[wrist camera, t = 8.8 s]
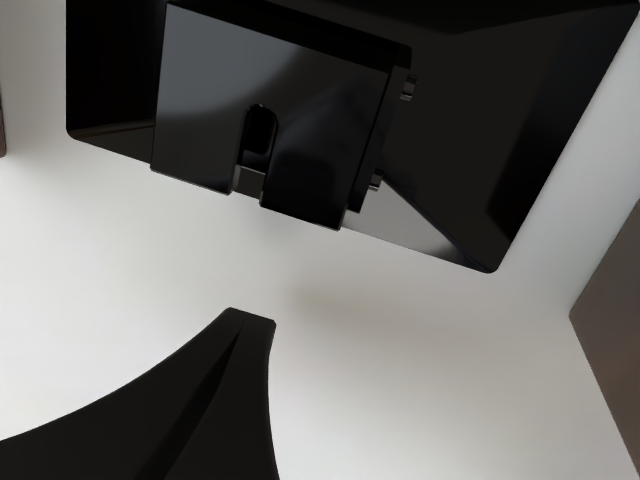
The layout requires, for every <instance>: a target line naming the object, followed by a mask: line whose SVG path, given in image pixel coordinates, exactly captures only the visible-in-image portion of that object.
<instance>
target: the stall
mask: <svg viewBox="0 0 640 480" xmlns="http://www.w3.org/2000/svg"><path fill="white" fill-rule="evenodd" d="M5 155H6V150H5V141H4V132H3V123H2V114H1V105H0V158H2V157H4V156H5ZM569 319H570V321H571V324H572V326H573V328H574V331H575V333H576V335H577V337H578V340H579V342H580V344H581V346H582V349H583V351H584V353H585V355H586V358H587V360H588V362H589V364H590V367H591V369H592V371H593V374H594V376H595V378H596V380H597V383H598V385H599V387H600V389H601V392H602V394H603V396H604V398H605V401H606V403H607V405H608V407H609V410H610V412H611V414H612V417H613V419H614V421H615V423H616V426H617V428H618V430H619V432H620V435H621V437H622V439H623V441H624V444H625V446H626V448H627V450H628V453H629V455H630V457H631V460H632V462H633V464H634V466H635V469H636V471H637V473H638V475H639V478H640V200H639V202H638V203H637V205H636V206H635V208H634V210H633V211H632V213H631V215H630V216H629V218H628V219H627V221H626V223H625V224H624V226H623V228H622V229H621V231H620V233H619V234H618V236H617V237H616V239H615V241H614V242H613V244H612V246H611V247H610V249H609V250H608V252H607V254H606V255H605V257H604V259H603V260H602V262H601V263H600V265H599V267H598V268H597V270H596V272H595V273H594V275H593V277H592V278H591V280H590V281H589V283H588V285H587V286H586V288H585V290H584V291H583V293H582V294H581V296H580V298H579V299H578V301H577V303H576V304H575V306H574V308H573V309H572V311H571V312H570V314H569Z"/></svg>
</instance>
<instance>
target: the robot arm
mask: <svg viewBox="0 0 640 480" xmlns="http://www.w3.org/2000/svg"><path fill="white" fill-rule="evenodd" d="M275 329H276V323H275V322H274V320H272V319H268V318H265V317H262V316H258V315H255V314H252V313H248V312H245V311H242V310H238V309H235V308H231V307H229V308H227V309H225V310H224V311H223V312H222V313H221V314H220V315H219V316H218V317H217V318H216V319H215V320H213V321H212V322H211V323H210V324H209V325H208V326H207V327H206V328H204V329H203V330H202V331H201V332H200V333H198V334H197V335H196V336H195V337H194V338H192V339H191V340H190V341H188V342H187V343H186V344H185V345H183V346H182V347H181V348H180V349H178V350H177V351H176V352H174V353H173V354H172V355H170V356H169V357H167V358H166V359H164V360H163V361H161V362H160V363H159V364H157V365H156V366H154V367H153V368H151V369H150V370H148V371H147V372H145V373H144V374H142V375H141V376H139V377H138V378H136V379H134V380H133V381H131V382H129V383H128V384H126V385H124V386H122V387H121V388H119V389H117V390H115V391H114V392H112V393H110V394H108V395H106V396H104V397H102V398H100V399H98V400H97V401H95V402H93V403H91V404H89V405H87V406H85V407H83V408H81V409H78V410H76V411H74V412H72V413H70V414H67V415H65V416H63V417H60V418H58V419H56V420H53V421H51V422H49V423H46V424H44V425H42V426H39V427H37V428H35V429H32V430H29V431H27V432H24V433H22V434H19V435H16V436H13V437H10V438H7V439H4V440H1V441H0V480H280V479H279V474H278V469H277V465H276V460H275V454H274V448H273V441H272V433H271V425H270V414H269V398H268V365H269V355H270V350H271V346H272V342H273V338H274V333H275Z"/></svg>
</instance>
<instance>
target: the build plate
mask: <svg viewBox="0 0 640 480" xmlns="http://www.w3.org/2000/svg"><path fill="white" fill-rule="evenodd" d="M639 10H640V3H639V0H66V130H67V133H68V134H69V136H70V137H72V138H73V139H76V140H79V141H82V142H85V143H88V144H91V145H94V146H97V147H100V148H103V149H106V150H109V151H112V152H115V153H118V154H121V155H125V156H128V157H131V158H134V159H137V160H140V161H143V162H146V163H149V164H150V169H151V171H153V172H156V173H159V174H162V175H165V176H169V177H172V178H175V179H178V180H181V181H184V182H187V183H190V184H193V185H196V186H199V187H202V188H205V189H208V190H211V191H214V192H217V193H221V194H224V195H227V196H228V195H230V194H231V193H232V192H233V191H235V192H238V193H241V194H244V195H247V196H250V197H253V198H256V199H259V205H260V207H263V208H266V209H269V210H273V211H276V212H279V213H282V214H285V215H288V216H291V217H294V218H297V219H300V220H303V221H306V222H309V223H312V224H315V225H318V226H321V227H325V228H328V229H331V230H334V231H339V230H340V228H341V226H342V227H345V228H348V229H351V230H354V231H357V232H360V233H363V234H366V235H370V236H373V237H376V238H379V239H382V240H385V241H388V242H391V243H394V244H397V245H400V246H403V247H406V248H409V249H412V250H415V251H418V252H422V253H425V254H428V255H431V256H434V257H437V258H440V259H443V260H446V261H449V262H452V263H455V264H458V265H461V266H464V267H467V268H471V269H474V270H477V271H480V272H483V273H487V274H488V273H493V272H495V271H496V270H497V269H498V267H499V265H500V264H501V262H502V260H503V258H504V256H505V254H506V253H507V251H508V249H509V247H510V245H511V244H512V242H513V240H514V238H515V236H516V234H517V233H518V231H519V229H520V227H521V225H522V224H523V222H524V220H525V218H526V216H527V214H528V213H529V211H530V209H531V207H532V205H533V204H534V202H535V200H536V198H537V196H538V194H539V193H540V191H541V189H542V187H543V185H544V184H545V182H546V180H547V178H548V176H549V175H550V173H551V171H552V169H553V167H554V165H555V164H556V162H557V160H558V158H559V156H560V155H561V153H562V151H563V149H564V147H565V145H566V144H567V142H568V140H569V138H570V136H571V135H572V133H573V131H574V129H575V127H576V125H577V124H578V122H579V120H580V118H581V116H582V115H583V113H584V111H585V109H586V107H587V106H588V104H589V102H590V100H591V98H592V96H593V95H594V93H595V91H596V89H597V87H598V86H599V84H600V82H601V80H602V78H603V76H604V75H605V73H606V71H607V69H608V67H609V66H610V64H611V62H612V60H613V58H614V56H615V55H616V53H617V51H618V49H619V47H620V46H621V44H622V42H623V40H624V38H625V36H626V35H627V33H628V31H629V29H630V27H631V26H632V24H633V22H634V20H635V18H636V17H637V15H638V13H639Z"/></svg>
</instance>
